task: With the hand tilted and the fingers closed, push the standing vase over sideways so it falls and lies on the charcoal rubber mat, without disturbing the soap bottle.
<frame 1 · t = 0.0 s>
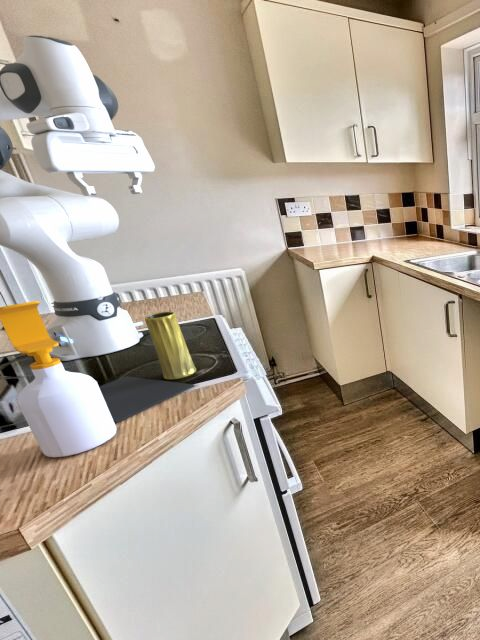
hand: (114, 194, 94), 39 cm above the worktop, tool pointing down, fingers open, 8 cm apart
vase: (180, 375, 96), on the worktop
soap bottle: (82, 443, 71), on the worktop
mat: (122, 397, 86), on the worktop
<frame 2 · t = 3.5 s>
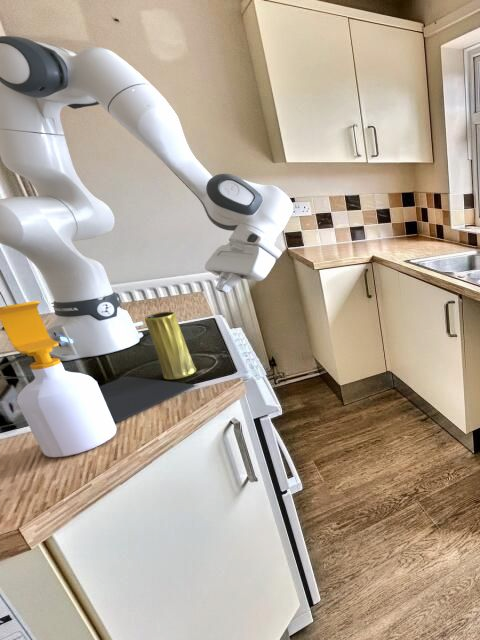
hand: (221, 291, 101), 16 cm above the worktop, tool tilted 45°, fingers closed
nothing on the worktop moved.
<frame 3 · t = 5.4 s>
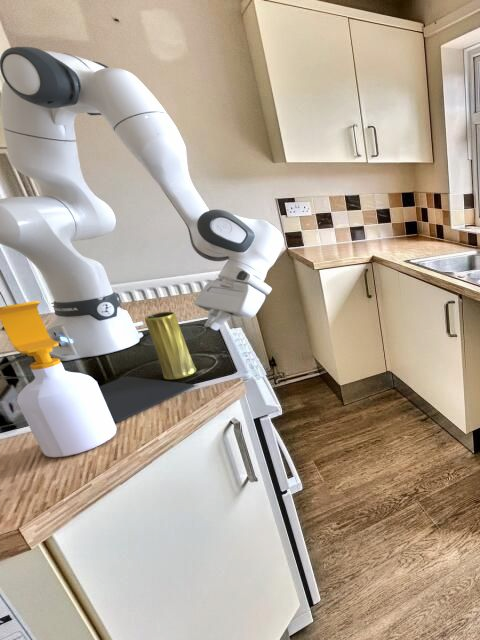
hand: (210, 328, 100), 8 cm above the worktop, tool tilted 45°, fingers closed
nothing on the worktop moved.
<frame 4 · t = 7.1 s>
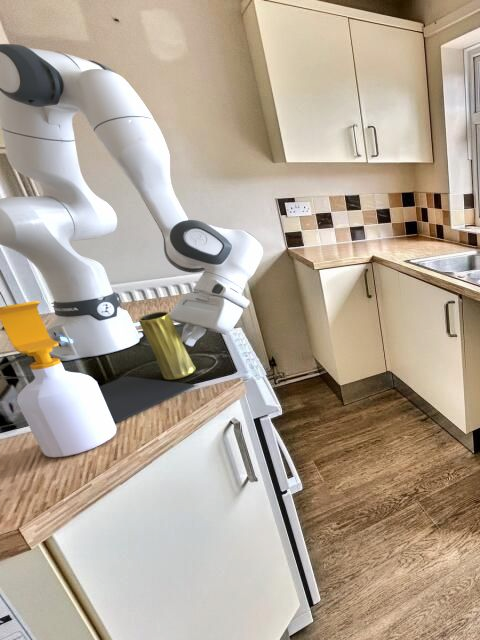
hand: (185, 344, 96), 6 cm above the worktop, tool tilted 45°, fingers closed, pressing on vase
vase: (180, 374, 96), on the worktop, touching gripper
everything else where it was.
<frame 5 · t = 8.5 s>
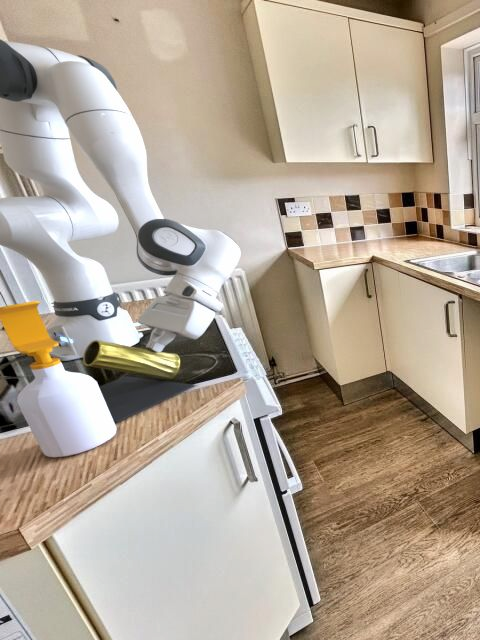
hand: (152, 350, 90), 8 cm above the worktop, tool tilted 45°, fingers closed, pressing on vase
vase: (172, 367, 94), point 2 cm above the worktop, touching gripper
everything else where it was.
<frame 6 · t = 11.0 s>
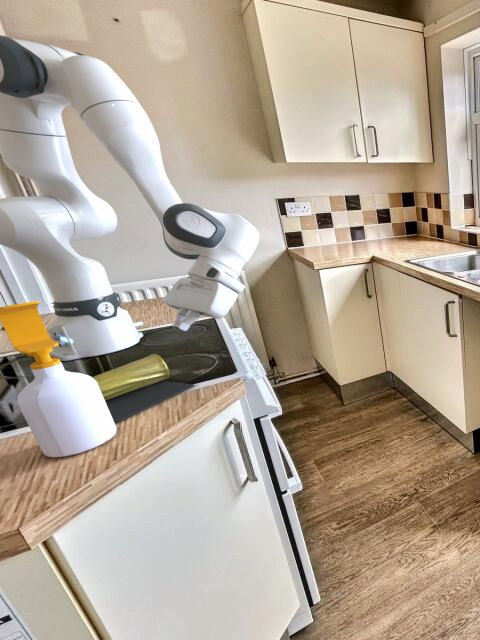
hand: (178, 329, 95), 10 cm above the worktop, tool tilted 45°, fingers closed
vase: (161, 366, 93), point 3 cm above the worktop, touching mat
everything else where it was.
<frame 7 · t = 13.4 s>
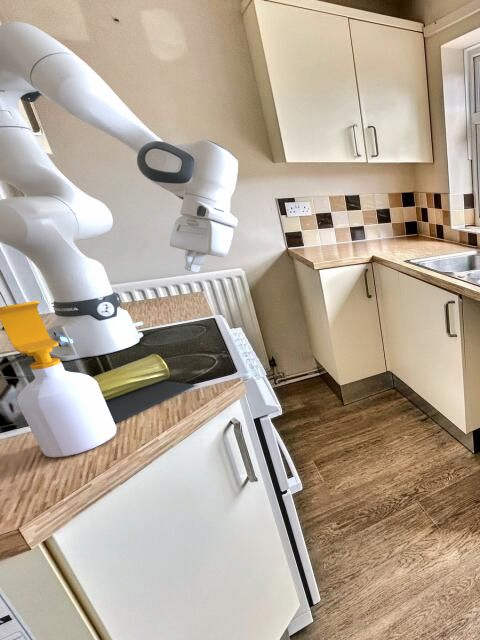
hand: (191, 271, 98), 22 cm above the worktop, tool tilted 25°, fingers closed
nothing on the worktop moved.
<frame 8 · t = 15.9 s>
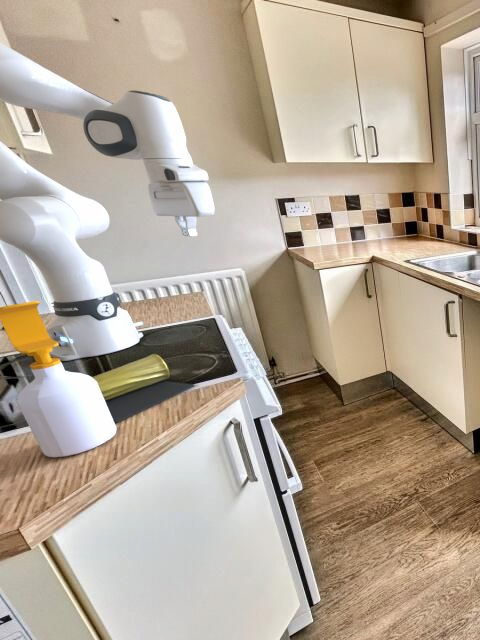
hand: (190, 236, 100), 29 cm above the worktop, tool pointing down, fingers closed
nothing on the worktop moved.
at the end: vase tilted 91°; vase touching mat; soap bottle moved 0.2 cm from its start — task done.
